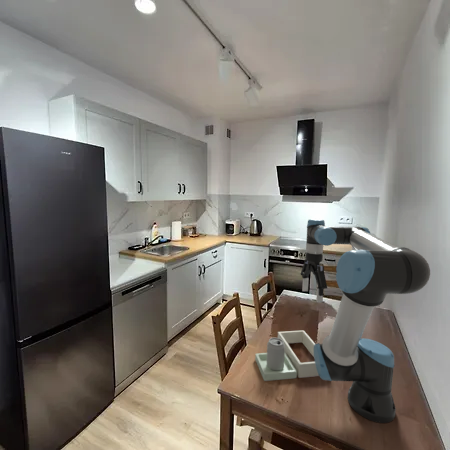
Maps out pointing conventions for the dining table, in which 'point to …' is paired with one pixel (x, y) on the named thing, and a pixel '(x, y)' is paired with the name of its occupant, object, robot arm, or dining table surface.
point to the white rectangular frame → (302, 368)
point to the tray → (269, 374)
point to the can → (275, 354)
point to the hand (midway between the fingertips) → (311, 296)
